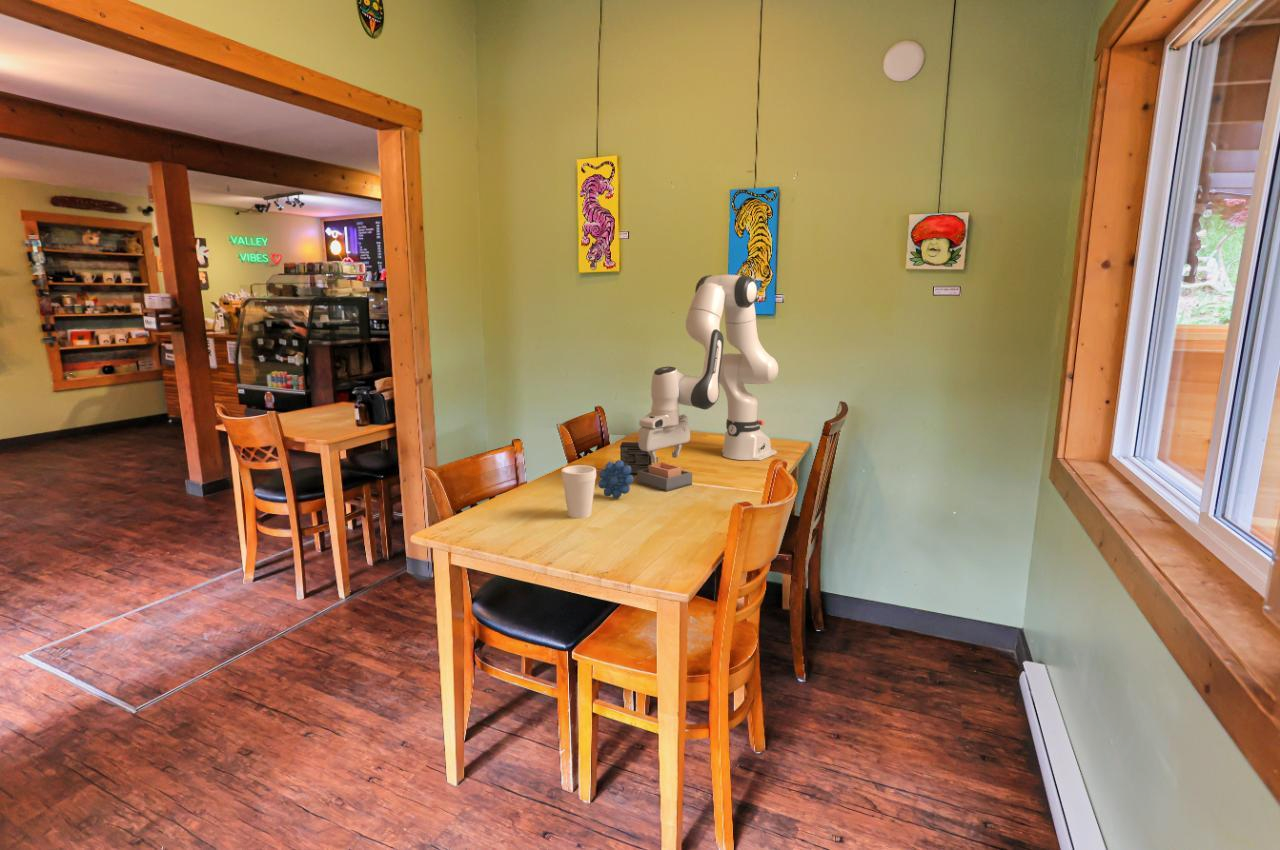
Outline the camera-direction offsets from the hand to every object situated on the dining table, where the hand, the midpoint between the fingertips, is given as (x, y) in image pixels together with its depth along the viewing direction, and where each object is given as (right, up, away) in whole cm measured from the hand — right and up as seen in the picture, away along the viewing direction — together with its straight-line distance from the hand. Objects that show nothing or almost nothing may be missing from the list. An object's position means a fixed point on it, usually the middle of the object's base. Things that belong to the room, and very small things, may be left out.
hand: (665, 459), depth 207 cm
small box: (-10, -6, +14) cm, 18 cm away
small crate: (0, -7, +1) cm, 7 cm away
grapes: (-15, -11, -14) cm, 23 cm away
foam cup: (-25, -14, -29) cm, 41 cm away
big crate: (0, -8, +1) cm, 8 cm away
